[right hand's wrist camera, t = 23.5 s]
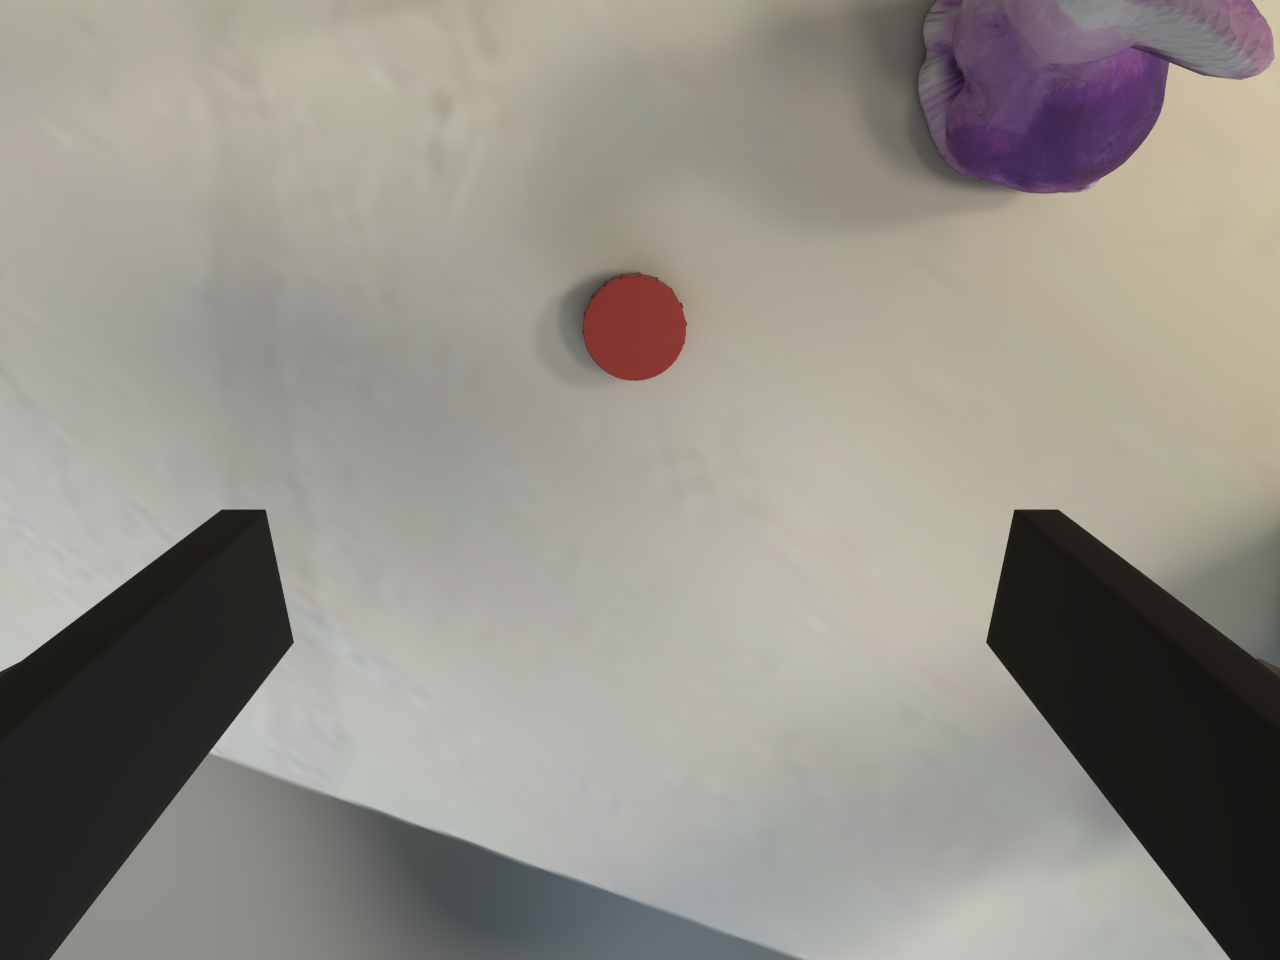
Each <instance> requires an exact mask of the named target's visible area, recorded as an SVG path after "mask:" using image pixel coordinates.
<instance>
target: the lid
mask: <svg viewBox="0 0 1280 960" xmlns="http://www.w3.org/2000/svg"><path fill="white" fill-rule="evenodd" d="M591 299H592V300H591V302H590V304H589V306H588V309H587V310H586V311H585V313H584V316H585V318H584V324H583V334H584V340H585V344H586V347H587V350H588V352H589V353H590V355H591V357H592V358H593V360H594V361H595V362H596V363H597V364H598V365H599V366H600V367H601V368H602V369H603V370H604V371H606V372H607V373H609V374H611V375H613V376H615V377H617V378H621V379H625V380H634V381H637V380H645V379H649V378H652V377H655V376H657V375H659V374H661V373H662V372H664V371H665V370H666V369H668V368H669V367H670V366H671V365H672V364H673V363H674V361H675V360H676V359H677V357H678V356H679V354H680V352H681V350H682V347H683V344H685V336H686V326H687V323H686V320H685V317H684V314H683V311H682V308H683V306H682V303H679V301H678V299H677V297H676V296H675V294H674V293H673V289H672V288H669V287H668V286H666V285H665V284H664V283H663V282H661V281H659V280H658V278H657V277H656V278H653V277H651V276H648V275H643V274H641V272H639V274H626V275H623V274H621V275H620V276H619V277H616V278H614V279H612V280H610V281H608V282H607V281H605V282H604V285H603V286H602V287H601V288H600V289H599V290H598V291H597V292H596V294H593V295H592V297H591Z"/></svg>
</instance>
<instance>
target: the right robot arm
mask: <svg viewBox="0 0 1280 960" xmlns="http://www.w3.org/2000/svg"><path fill="white" fill-rule="evenodd" d="M293 643H294V641H293V637H292V632H291V627H290V622H289V618H288V613H287V608H286V604H285V599H284V594H283V589H282V585H281V580H280V575H279V571H278V566H277V561H276V557H275V552H274V547H273V542H272V538H271V533H270V528H269V524H268V519H267V514H266V510H221V511H219V512H218V513H217V514H215V515H214V516H213V517H211V518H210V519H209V520H207V521H206V522H205V523H204V524H202V525H201V526H200V527H198V528H197V529H196V530H194V531H193V532H192V533H190V534H189V535H188V536H186V537H185V538H184V539H182V540H181V541H180V542H178V543H177V544H176V545H174V546H173V547H172V548H170V549H169V550H168V551H166V552H165V553H164V554H163V555H161V556H160V557H159V558H157V559H156V560H155V561H153V562H152V563H151V564H149V565H148V566H147V567H145V568H144V569H143V570H141V571H140V572H139V573H137V574H136V575H135V576H133V577H132V578H131V579H129V580H128V581H127V582H126V583H124V584H123V585H122V586H120V587H119V588H118V589H116V590H115V591H114V592H112V593H111V594H110V595H108V596H107V597H106V598H104V599H103V600H102V601H100V602H99V603H98V604H96V605H95V606H94V607H92V608H91V609H90V610H88V611H87V612H86V613H85V614H83V615H82V616H81V617H79V618H78V619H77V620H75V621H74V622H73V623H71V624H70V625H69V626H67V627H66V628H65V629H63V630H62V631H61V632H59V633H58V634H57V635H55V636H54V637H53V638H51V639H50V640H49V641H48V642H46V643H45V644H44V645H42V646H41V647H40V648H38V649H37V650H36V651H34V652H33V653H32V654H30V655H29V656H28V657H26V658H25V659H24V660H22V661H21V662H19V663H17V664H15V665H13V666H11V667H9V668H7V669H5V670H3V671H1V672H0V960H49V959H50V958H51V957H52V955H53V954H54V953H55V951H56V950H57V949H58V948H59V946H60V945H61V944H62V942H63V941H64V940H65V939H66V937H67V936H68V935H69V933H70V932H71V931H72V929H73V928H74V927H75V926H76V924H77V923H78V922H79V920H80V919H81V918H82V916H83V915H84V914H85V913H86V911H87V910H88V909H89V907H90V906H91V905H92V904H93V902H94V901H95V900H96V898H97V897H98V896H99V894H100V893H101V892H102V890H103V889H104V888H105V887H106V885H107V884H108V883H109V881H110V880H111V879H112V878H113V876H114V875H115V874H116V872H117V871H118V870H119V868H120V867H121V866H122V865H123V863H124V862H125V861H126V859H127V858H128V857H129V856H130V854H131V853H132V852H133V850H134V849H135V848H136V846H137V845H138V844H139V843H140V841H141V840H142V839H143V837H144V836H145V835H146V833H147V832H148V831H149V830H150V828H151V827H152V826H153V824H154V823H155V822H156V821H157V819H158V818H159V817H160V815H161V814H162V813H163V811H164V810H165V809H166V808H167V806H168V805H169V804H170V802H171V801H172V800H173V798H174V797H175V796H176V795H177V793H178V792H179V791H180V789H181V788H182V787H183V785H184V784H185V783H186V782H187V780H188V779H189V778H190V776H191V775H192V774H193V773H194V771H195V770H196V769H197V767H198V766H199V765H200V763H201V762H202V761H203V759H204V758H205V757H206V756H207V754H208V753H209V752H210V750H211V749H212V748H213V747H214V745H215V744H216V743H217V741H218V740H219V739H220V738H221V736H222V735H223V734H224V732H225V731H226V730H227V728H228V727H229V726H230V725H231V723H232V722H233V721H234V719H235V718H236V717H237V715H238V714H239V713H240V712H241V710H242V709H243V708H244V706H245V705H246V704H247V702H248V701H249V700H250V699H251V697H252V696H253V695H254V693H255V692H256V691H257V690H258V688H259V687H260V686H261V684H262V683H263V682H264V680H265V679H266V678H267V677H268V675H269V674H270V673H271V671H272V670H273V669H274V667H275V666H276V665H277V664H278V662H279V661H280V660H281V658H282V657H283V656H284V654H285V653H286V652H287V651H288V649H289V648H290V647H291V645H292V644H293ZM986 643H987V644H988V645H989V647H990V648H991V649H992V651H993V652H994V653H995V654H996V656H997V657H998V658H999V660H1000V661H1001V662H1002V664H1003V665H1004V666H1005V667H1006V669H1007V670H1008V671H1009V673H1010V674H1011V675H1012V677H1013V678H1014V679H1015V680H1016V682H1017V683H1018V684H1019V686H1020V687H1021V688H1022V690H1023V691H1024V692H1025V693H1026V695H1027V696H1028V697H1029V699H1030V700H1031V701H1032V702H1033V704H1034V705H1035V706H1036V708H1037V709H1038V710H1039V712H1040V713H1041V714H1042V715H1043V717H1044V718H1045V719H1046V721H1047V722H1048V723H1049V725H1050V726H1051V727H1052V728H1053V730H1054V731H1055V732H1056V734H1057V735H1058V736H1059V738H1060V739H1061V740H1062V741H1063V743H1064V744H1065V745H1066V747H1067V748H1068V749H1069V750H1070V752H1071V753H1072V754H1073V756H1074V757H1075V758H1076V760H1077V761H1078V762H1079V763H1080V765H1081V766H1082V767H1083V769H1084V770H1085V771H1086V773H1087V774H1088V775H1089V776H1090V778H1091V779H1092V780H1093V782H1094V783H1095V784H1096V785H1097V787H1098V788H1099V789H1100V791H1101V792H1102V793H1103V795H1104V796H1105V797H1106V798H1107V800H1108V801H1109V802H1110V804H1111V805H1112V806H1113V808H1114V809H1115V810H1116V811H1117V813H1118V814H1119V815H1120V817H1121V818H1122V819H1123V821H1124V822H1125V823H1126V824H1127V826H1128V827H1129V828H1130V830H1131V831H1132V832H1133V833H1134V835H1135V836H1136V837H1137V839H1138V840H1139V841H1140V843H1141V844H1142V845H1143V846H1144V848H1145V849H1146V850H1147V852H1148V853H1149V854H1150V856H1151V857H1152V858H1153V859H1154V861H1155V862H1156V863H1157V865H1158V866H1159V867H1160V869H1161V870H1162V871H1163V872H1164V874H1165V875H1166V876H1167V878H1168V879H1169V880H1170V881H1171V883H1172V884H1173V885H1174V887H1175V888H1176V889H1177V891H1178V892H1179V893H1180V894H1181V896H1182V897H1183V898H1184V900H1185V901H1186V902H1187V904H1188V905H1189V906H1190V907H1191V909H1192V910H1193V911H1194V913H1195V914H1196V915H1197V917H1198V918H1199V919H1200V920H1201V922H1202V923H1203V924H1204V926H1205V927H1206V928H1207V929H1208V931H1209V932H1210V933H1211V935H1212V936H1213V937H1214V939H1215V940H1216V941H1217V942H1218V944H1219V945H1220V946H1221V948H1222V949H1223V950H1224V952H1225V953H1226V954H1227V955H1228V957H1229V958H1230V959H1231V960H1280V669H1279V668H1277V667H1275V666H1273V665H1271V664H1269V663H1267V662H1265V661H1263V660H1261V659H1255V658H1254V657H1252V656H1251V655H1250V654H1248V653H1247V652H1246V651H1244V650H1243V649H1242V648H1240V647H1239V646H1238V645H1236V644H1235V643H1234V642H1232V641H1231V640H1230V639H1229V638H1227V637H1226V636H1225V635H1223V634H1222V633H1221V632H1219V631H1218V630H1217V629H1215V628H1214V627H1213V626H1211V625H1210V624H1209V623H1207V622H1206V621H1205V620H1203V619H1202V618H1201V617H1199V616H1198V615H1197V614H1195V613H1194V612H1193V611H1192V610H1190V609H1189V608H1188V607H1186V606H1185V605H1184V604H1182V603H1181V602H1180V601H1178V600H1177V599H1176V598H1174V597H1173V596H1172V595H1170V594H1169V593H1168V592H1166V591H1165V590H1164V589H1162V588H1161V587H1160V586H1158V585H1157V584H1156V583H1154V582H1153V581H1152V580H1151V579H1149V578H1148V577H1147V576H1145V575H1144V574H1143V573H1141V572H1140V571H1139V570H1137V569H1136V568H1135V567H1133V566H1132V565H1131V564H1129V563H1128V562H1127V561H1125V560H1124V559H1123V558H1121V557H1120V556H1119V555H1117V554H1116V553H1115V552H1114V551H1112V550H1111V549H1110V548H1108V547H1107V546H1106V545H1104V544H1103V543H1102V542H1100V541H1099V540H1098V539H1096V538H1095V537H1094V536H1092V535H1091V534H1090V533H1088V532H1087V531H1086V530H1084V529H1083V528H1082V527H1080V526H1079V525H1078V524H1076V523H1075V522H1074V521H1073V520H1071V519H1070V518H1069V517H1067V516H1066V515H1065V514H1063V513H1062V512H1061V511H1059V510H1014V514H1013V519H1012V524H1011V528H1010V533H1009V538H1008V542H1007V547H1006V552H1005V557H1004V561H1003V566H1002V571H1001V575H1000V580H999V585H998V589H997V594H996V599H995V604H994V608H993V613H992V618H991V622H990V627H989V632H988V637H987V641H986Z"/></svg>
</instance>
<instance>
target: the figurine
mask: <svg viewBox="0 0 1280 960" xmlns="http://www.w3.org/2000/svg"><path fill="white" fill-rule="evenodd" d="M923 35H924V44H925V48H926V52H927V53H926V59H925V62H924V64H923V66H922V67H921V70H920V73H919V79H918V90H917V91H918V93H919V99H920V103H921V106H922V109H923V111H924V118H925V119H926V120H927V124H928V127H929V131H930V133H931V136H932V138H933V139H934V141H935V144H936V146H937V148H938V150H939V153H940V154H941V156H942V158H943V159H944V161H945V162H946V163H948V164H949V165H950V166H951V167H953V168H954V169H955V170H956V171H958V172H960V173H962V174H965V175H969V176H976V177H978V178H980V179H983V180H986V181H991V182H995V183H999V184H1002V185H1005V186H1008V187H1011V188H1013V189H1017V190H1020V191H1023V192H1030V193H1058V192H1064V193H1067V192H1081V191H1085V190H1088V189H1090V188H1092V187H1094V186H1095V184H1096V183H1097V182H1098V181H1099V179H1100V178H1102V177H1104V176H1106V175H1107V174H1109V173H1110V172H1112V171H1114V170H1115V169H1117V168H1118V167H1119V166H1121V165H1122V164H1123V163H1125V161H1126V160H1127V159H1128V158H1129V157H1130V156H1131V155H1132V154H1133V153H1134V152H1135V151H1136V150H1137V149H1138V147H1139V146H1140V145H1141V144H1142V142H1143V141H1144V140H1145V139H1146V138H1147V136H1148V134H1149V133H1150V131H1151V130H1152V128H1153V127H1154V125H1155V123H1156V121H1157V119H1158V117H1159V115H1160V112H1161V109H1162V105H1163V101H1164V94H1165V86H1166V80H1167V73H1168V67H1169V62H1171V63H1173V64H1176V65H1178V66H1181V67H1183V68H1186V69H1188V70H1191V71H1193V72H1196V73H1198V74H1201V75H1204V76H1212V77H1220V78H1228V79H1238V80H1241V79H1245V78H1249V77H1252V76H1256V75H1259V74H1260V73H1261V72H1263V71H1264V70H1265V69H1266V68H1268V67H1269V65H1270V64H1271V62H1272V61H1273V59H1274V50H1273V37H1272V32H1271V29H1270V27H1269V25H1268V23H1267V21H1266V19H1265V18H1264V17H1263V16H1262V15H1261V14H1260V12H1259V11H1258V9H1257V8H1256V6H1255V5H1254V3H1253V2H1252V1H1251V0H937V1H936V3H935V4H934V5H933V6H932V7H931V8H930V11H929V13H928V14H927V16H926V18H925V22H924V27H923Z"/></svg>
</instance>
